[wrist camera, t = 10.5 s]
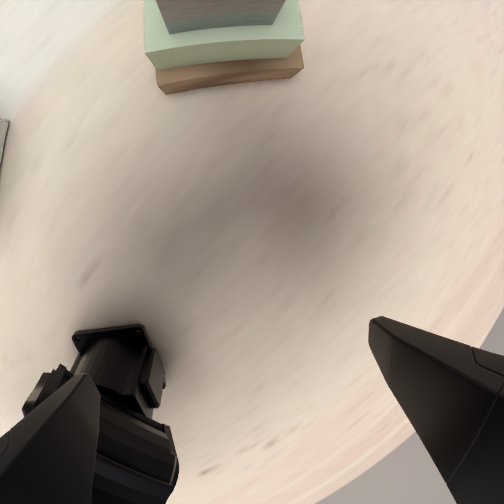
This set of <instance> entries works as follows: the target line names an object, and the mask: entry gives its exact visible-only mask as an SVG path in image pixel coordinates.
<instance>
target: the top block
mask: <svg viewBox="0 0 504 504" xmlns="http://www.w3.org/2000/svg"><path fill="white" fill-rule="evenodd" d="M143 19H144V47H145V54H146V55H147V57H148V58H149V59H150V61H151V62H152V63H153V65H154V66H155V67H156V69H157V70H164V69H170V68H176V67H182V66H189V65H197V64H205V63H214V62H224V61H236V60H251V59H281V58H288V57H289V55H290V54H291V53H292V52H293V51H294V50H295V49H296V48H297V47H298V46H299V45H300V44H301V43H302V41H303V40H304V34H303V27H302V20H301V14H300V8H299V2H298V0H286V1H285V3H284V4H283V6H282V8H281V10H280V12H279V14H278V15H277V17H276V19H275V21H274V23H273V25H251V26H234V27H222V28H212V29H203V30H195V31H188V32H181V33H175V34H169V32H168V30H167V27H166V25H165V22H164V20H163V17H162V15H161V13H160V10H159V8H158V5H157V3H156V0H143Z"/></svg>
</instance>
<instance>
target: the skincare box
mask: <svg viewBox="0 0 504 504" xmlns="http://www.w3.org/2000/svg"><path fill="white" fill-rule="evenodd" d="M8 123H9V122H8V121H7V120H3V119H0V164H1V157H2V152H3V146H4V140H5V136H6V131H7V127H8Z"/></svg>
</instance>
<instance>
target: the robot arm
mask: <svg viewBox="0 0 504 504" xmlns="http://www.w3.org/2000/svg"><path fill="white" fill-rule="evenodd" d="M136 330H140V331H141V332H137V331H136ZM77 337H78V338H79V339H78V338H77ZM72 340H73V342H74V344H75V346H76V348H77V350H78V352H79V354H78V356H77V358H76V360H75V362H74V364H73V366H72V368H71V370H70V371H68V370H67V369H66V367H65V366H63V365H62V364H60V365H59V366H58V368H57V370H54V369H53V370H52V372H51V373H43V374H42V376H41V378H40V379H39V381H38V383H37V385H36V386H35V388H34V390H33V391H32V393H31V394H30V396H29V397H28V399H27V400H26V402H25V403H24V405H23V408H22V412H23V415H24V418H23V419H22V420H21V421H20V422H18V423H17V424H16V425H15V426H14V427H12V428H11V429H10V431H8V432H6V433H5V434H4V435H3V436H2V437H1V438H0V504H165V503H166V501H167V499H168V498H169V496H170V494H171V493H172V491H173V490H174V487H175V485H176V482H177V479H178V474H179V462H178V458H177V454H176V450H175V446H174V442H173V438H172V434H171V430H170V426H167V425H165V424H160V423H158V422H156V421H154V420H152V415H153V408H158V407H159V406H160V402H161V395H162V389H164V388H165V386H166V381H165V379H164V374H165V372H164V369H163V367H162V364H161V362H160V359H159V356H158V354H157V351H156V349H154V348H153V347H152V346H151V344H150V341H149V338H148V336H147V333H146V330H145V328H144V327H143V326H142V325H140V324H135V325H128V326H120V327H112V328H104V329H96V330H87V331H78V332H75V333H74V334H73V336H72ZM368 342H369V346H370V349H371V351H372V353H373V355H374V357H375V359H376V361H377V364H378V366H379V368H380V370H381V372H382V374H383V376H384V379H385V381H386V383H387V384H388V386H389V388H390V390H391V391H392V393H393V394H394V396H395V398H396V399H397V401H398V403H399V404H400V406H401V407H402V409H403V411H404V412H405V414H406V416H407V417H408V419H409V421H410V422H411V424H412V426H413V427H414V429H415V431H416V432H417V434H418V435H419V437H420V439H421V441H422V442H423V444H424V446H425V448H426V449H427V451H428V452H429V454H430V456H431V457H432V460H433V461H434V463H435V465H436V467H437V468H438V470H439V472H440V474H441V475H442V477H443V479H444V481H445V482H446V483H447V484H446V485H447V487H448V488H449V490H450V492H451V494H452V495H453V497H454V499H455V501H456V503H457V504H504V356H503V355H499V354H495V353H491V352H488V351H485V350H481V349H478V348H475V347H471V346H469V345H466V344H463V343H460V342H457V341H454V340H451V339H448V338H445V337H442V336H439V335H436V334H433V333H430V332H427V331H424V330H421V329H419V328H416V327H413V326H410V325H407V324H404V323H401V322H398V321H395V320H392V319H389V318H386V317H383V316H380V317H376V318H373V319H371V320H370V322H369V338H368Z"/></svg>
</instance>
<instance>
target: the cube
mask: <svg viewBox="0 0 504 504" xmlns="http://www.w3.org/2000/svg"><path fill="white" fill-rule="evenodd" d="M285 1H286V0H156V3H157V5H158V8H159V10H160V13H161V15H162V17H163V20H164V22H165V25H166V27H167V30H168V32H169V34H175V33H181V32H188V31H195V30H203V29H212V28H222V27H234V26H251V25H273V23H274V21H275V19H276V17H277V15H278V14H279V12H280V10H281V8H282V6H283V4H284V3H285Z"/></svg>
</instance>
